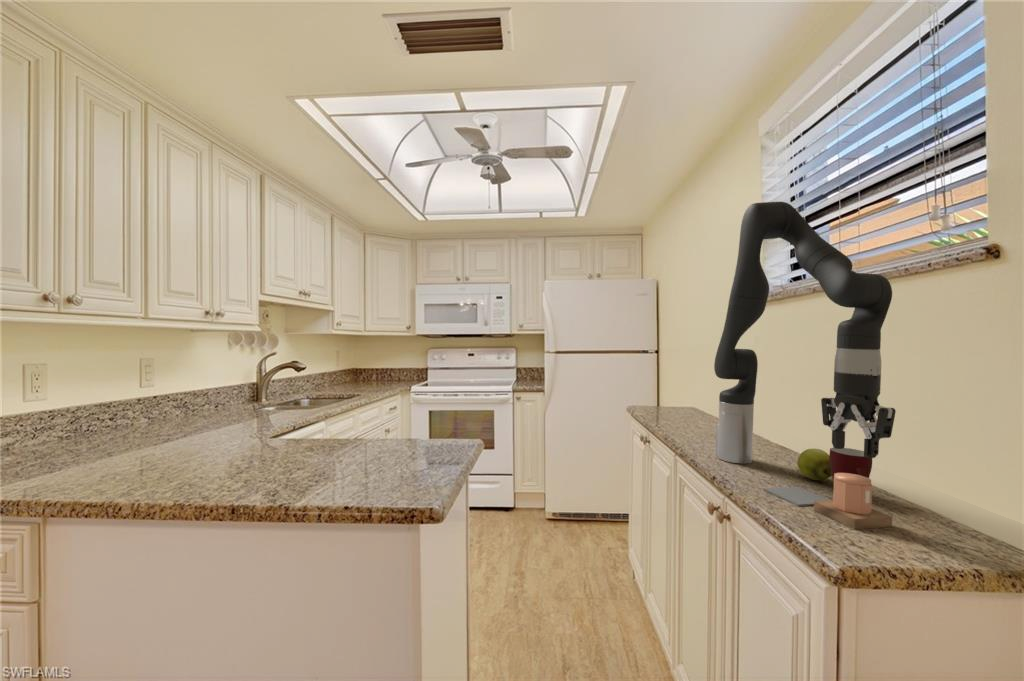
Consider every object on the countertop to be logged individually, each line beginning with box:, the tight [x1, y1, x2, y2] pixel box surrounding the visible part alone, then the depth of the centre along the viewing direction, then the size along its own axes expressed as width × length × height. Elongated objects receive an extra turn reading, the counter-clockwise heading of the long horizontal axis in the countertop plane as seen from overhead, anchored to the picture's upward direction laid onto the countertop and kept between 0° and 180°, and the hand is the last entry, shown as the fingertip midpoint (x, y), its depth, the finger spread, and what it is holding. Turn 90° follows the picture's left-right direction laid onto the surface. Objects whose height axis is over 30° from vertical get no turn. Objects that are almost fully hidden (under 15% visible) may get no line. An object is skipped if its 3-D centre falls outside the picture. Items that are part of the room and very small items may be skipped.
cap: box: [832, 473, 873, 514], centre depth 90 cm, size 6×6×6 cm
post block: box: [813, 499, 893, 530], centre depth 90 cm, size 9×9×7 cm
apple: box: [796, 448, 832, 481], centre depth 114 cm, size 8×9×8 cm
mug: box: [829, 447, 873, 482], centre depth 103 cm, size 10×8×10 cm
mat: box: [763, 486, 831, 507], centre depth 101 cm, size 10×10×1 cm
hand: (853, 452), depth 90 cm, fingers open, 6 cm apart
